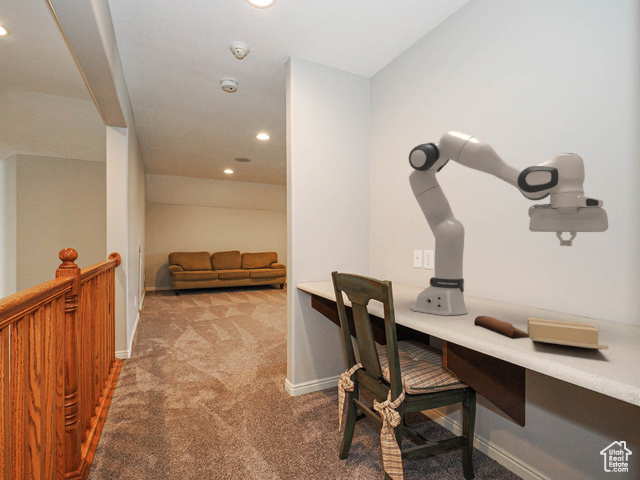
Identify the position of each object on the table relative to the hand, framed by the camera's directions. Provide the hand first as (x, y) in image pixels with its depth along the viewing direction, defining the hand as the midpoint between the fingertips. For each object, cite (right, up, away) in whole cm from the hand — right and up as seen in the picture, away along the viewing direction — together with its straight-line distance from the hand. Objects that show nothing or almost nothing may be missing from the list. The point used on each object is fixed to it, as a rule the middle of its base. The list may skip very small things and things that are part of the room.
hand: (565, 246), depth 104 cm
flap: (-10, -28, -11) cm, 32 cm away
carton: (-7, -28, -7) cm, 30 cm away
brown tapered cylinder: (-19, -29, +3) cm, 35 cm away
